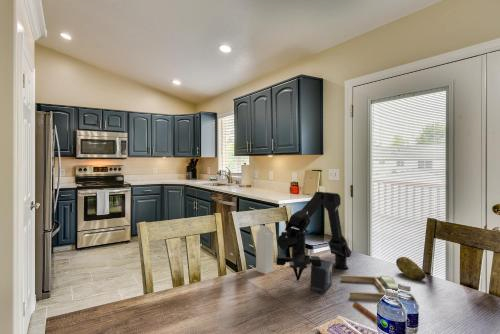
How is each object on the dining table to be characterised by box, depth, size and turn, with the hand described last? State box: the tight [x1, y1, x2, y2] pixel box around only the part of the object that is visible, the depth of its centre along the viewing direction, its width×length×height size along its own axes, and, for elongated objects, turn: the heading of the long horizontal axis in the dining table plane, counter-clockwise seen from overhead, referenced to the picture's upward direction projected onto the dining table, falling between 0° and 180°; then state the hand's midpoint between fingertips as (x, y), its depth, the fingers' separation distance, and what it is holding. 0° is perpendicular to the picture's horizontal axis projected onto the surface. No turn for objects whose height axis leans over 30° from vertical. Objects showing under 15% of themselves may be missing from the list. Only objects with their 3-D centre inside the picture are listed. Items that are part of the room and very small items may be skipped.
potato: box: [395, 256, 426, 281], centre depth 137 cm, size 8×13×8 cm, turn 8°
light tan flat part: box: [340, 274, 399, 301], centre depth 122 cm, size 17×22×4 cm
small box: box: [309, 258, 333, 295], centre depth 124 cm, size 11×6×10 cm, turn 149°
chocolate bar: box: [352, 300, 378, 324], centre depth 104 cm, size 3×12×2 cm, turn 19°
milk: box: [255, 224, 275, 275], centre depth 141 cm, size 6×6×22 cm
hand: (297, 280), depth 125 cm, fingers closed
